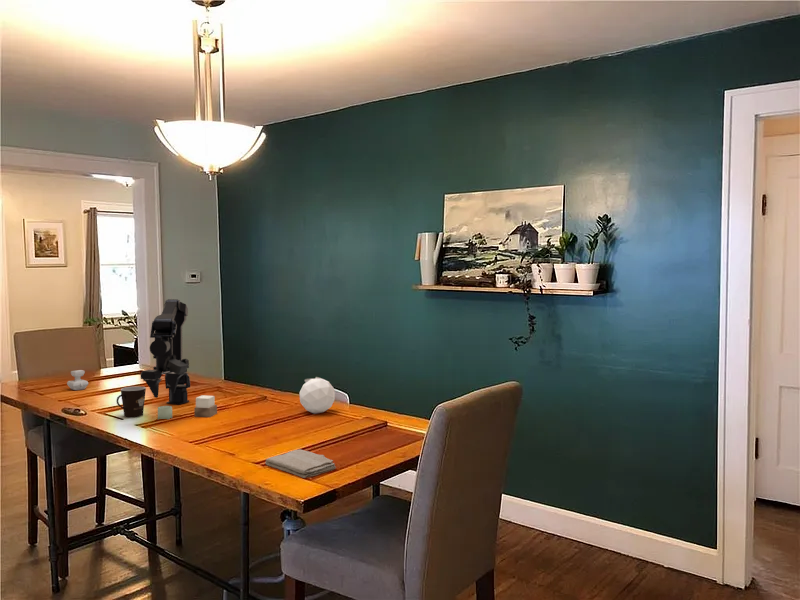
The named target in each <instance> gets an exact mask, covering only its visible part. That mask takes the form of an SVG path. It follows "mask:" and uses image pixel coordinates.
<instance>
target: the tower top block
mask: <svg viewBox="0 0 800 600" xmlns="http://www.w3.org/2000/svg"><path fill="white" fill-rule="evenodd" d="M215 398H216V397H215V395H204V394H203V395H200V396H196V397H195V407H196V408H210V407H212V406H214V405H216V404H215V403H216V402H215Z"/></svg>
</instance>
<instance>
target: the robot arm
mask: <svg viewBox="0 0 800 600" xmlns="http://www.w3.org/2000/svg"><path fill="white" fill-rule="evenodd" d="M188 315H189V309H188V306H187V304H186V303H183V302H182V301H181V300H180V299H175V298H173V299H172V298H171V299H170V298H168V299H165V303H164V304H163V309H162V311H161V314H160V315H156V316H155V318H154V319H153V321H152V322H151V327H150V328H151V329H150V336H149V338H150V339H151V338H153V339H154V340H153V341H152V342H151V343H150V345H149V352H150V353H151V354H152V355H153V356H152V357H153V359H155V366H153V369H146V370H142V371H141V373H140V380H142V381H143V382H145V383H146V385H147V386H148V388H149V389H150V392H151V393H152V395H153V397H154V398H158V397H159V392H160V391H159V390H160V389H159V387H160V382H161V381H162V380H163V378H162V376H163V375H165V376H164V383H165V389H168V401H166V404H170V405H183V404H185V403H189V402H190V399H188V398H189V397H188V390H187V389H188V388H191V378H190V376H189V373H188V369H189V368H190V363H189V361H190V360H189V359H187V358H183V326H184V324H185V322H186V321H187V317H188Z"/></svg>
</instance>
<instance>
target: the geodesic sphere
mask: <svg viewBox="0 0 800 600" xmlns="http://www.w3.org/2000/svg"><path fill="white" fill-rule="evenodd" d="M304 382H305V383H304V384H303V385H302V387H301V389H300V391H299V402H300V404H301V405H302V407H303V408H304V409H305V410H306V411H307V412H310V413H311V414H320V413H324V412H326V411H327V410H329V409H330V408H331V407H332V406H333V405H334V404H333V403H334V402H335V400H336V399H335V398H336V395H335V394H336V393H335V388H334V386H332V384H331V383H330V381H328V380H326V379H324V378H321V377H319V376H315V378H305V379H304Z"/></svg>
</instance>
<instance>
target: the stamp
mask: <svg viewBox="0 0 800 600" xmlns="http://www.w3.org/2000/svg"><path fill="white" fill-rule="evenodd" d="M85 372H86V371H85V370H83V369H78V370H77V369H76V370H70V375H71V376H72V377H74V380H68V381H67V382H66V385H67V386H68V387H69V388H70V390H74V391H82V390H85V389H86V388H87V387H88V386H89V382H88V380H85V379H81V377H83V376H84V374H85Z"/></svg>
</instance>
